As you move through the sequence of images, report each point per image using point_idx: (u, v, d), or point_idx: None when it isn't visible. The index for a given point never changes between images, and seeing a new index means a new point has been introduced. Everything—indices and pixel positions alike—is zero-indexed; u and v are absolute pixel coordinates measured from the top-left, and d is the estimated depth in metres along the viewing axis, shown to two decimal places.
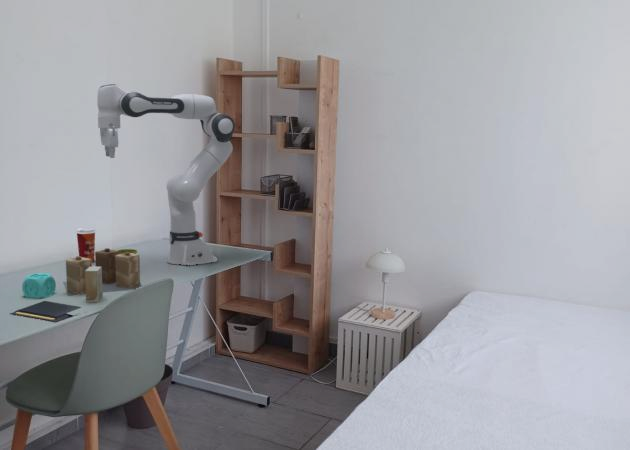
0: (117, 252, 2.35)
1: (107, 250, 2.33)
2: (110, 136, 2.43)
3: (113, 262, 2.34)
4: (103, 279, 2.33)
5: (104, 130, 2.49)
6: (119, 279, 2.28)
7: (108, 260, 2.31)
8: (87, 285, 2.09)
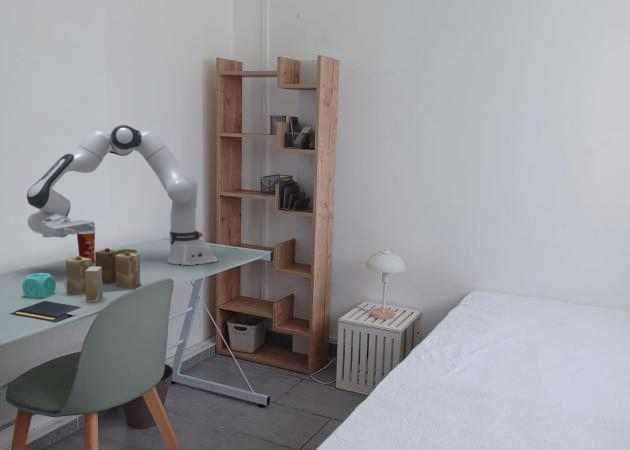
0: (117, 252, 2.35)
1: (107, 250, 2.33)
2: None
3: (113, 262, 2.34)
4: (103, 279, 2.33)
5: None
6: (119, 279, 2.28)
7: (108, 260, 2.31)
8: (87, 285, 2.09)
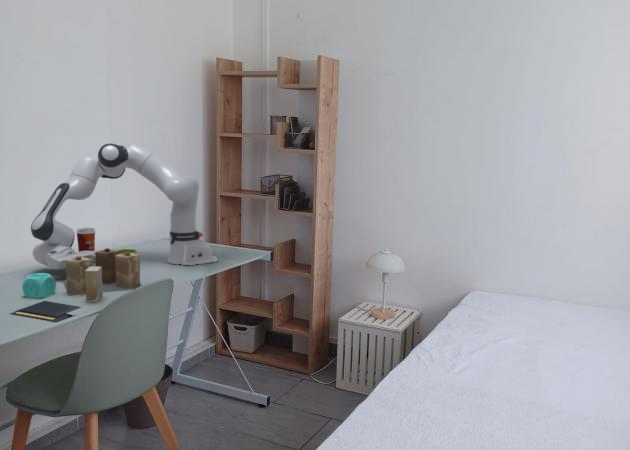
0: (117, 252, 2.35)
1: (107, 250, 2.33)
2: None
3: (113, 262, 2.34)
4: (103, 279, 2.33)
5: None
6: (119, 279, 2.28)
7: (108, 260, 2.31)
8: (87, 285, 2.09)
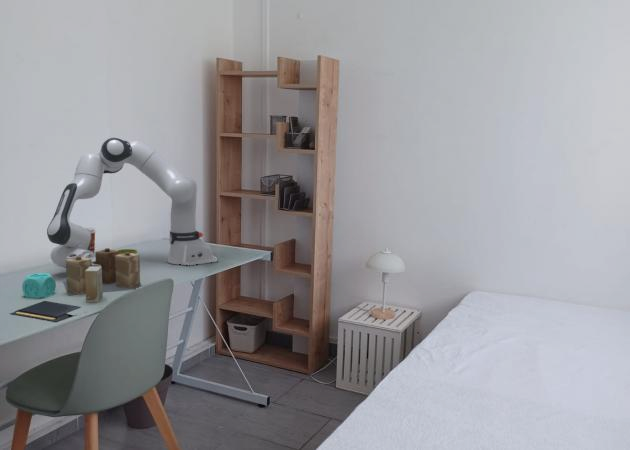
0: (117, 252, 2.35)
1: (107, 250, 2.33)
2: None
3: (113, 262, 2.34)
4: (103, 279, 2.33)
5: None
6: (119, 279, 2.28)
7: (108, 260, 2.31)
8: (87, 285, 2.09)
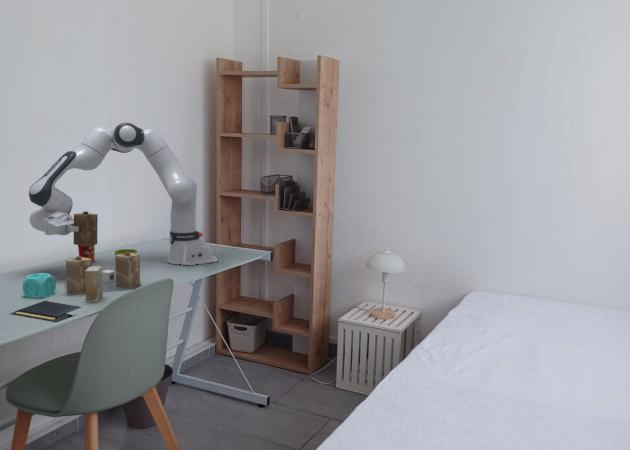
0: (95, 215, 2.37)
1: (85, 213, 2.36)
2: None
3: (91, 225, 2.36)
4: (80, 241, 2.35)
5: None
6: (119, 279, 2.28)
7: (86, 222, 2.33)
8: (87, 285, 2.09)
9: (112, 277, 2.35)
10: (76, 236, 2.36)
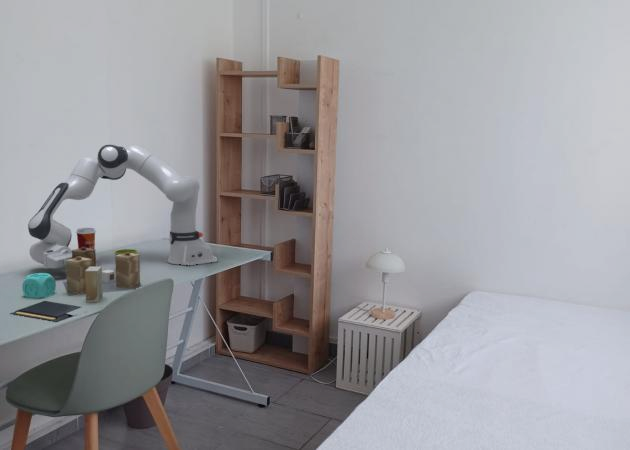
0: (93, 250, 2.41)
1: (83, 248, 2.39)
2: None
3: None
4: None
5: None
6: (119, 279, 2.28)
7: None
8: (87, 285, 2.09)
9: (112, 277, 2.35)
10: None
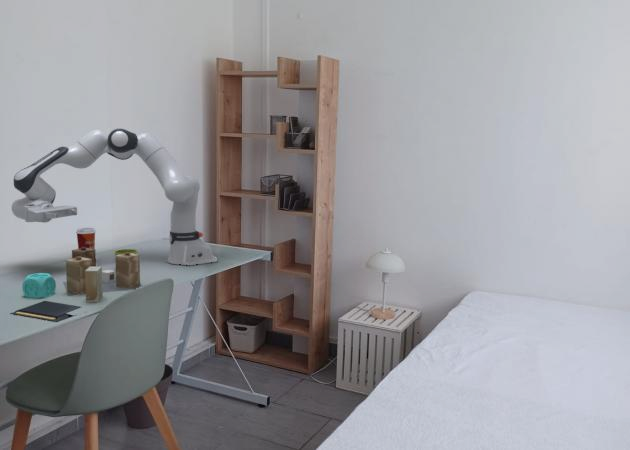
0: (93, 250, 2.41)
1: (83, 248, 2.39)
2: None
3: None
4: None
5: None
6: (119, 279, 2.28)
7: None
8: (87, 285, 2.09)
9: (112, 277, 2.35)
10: None
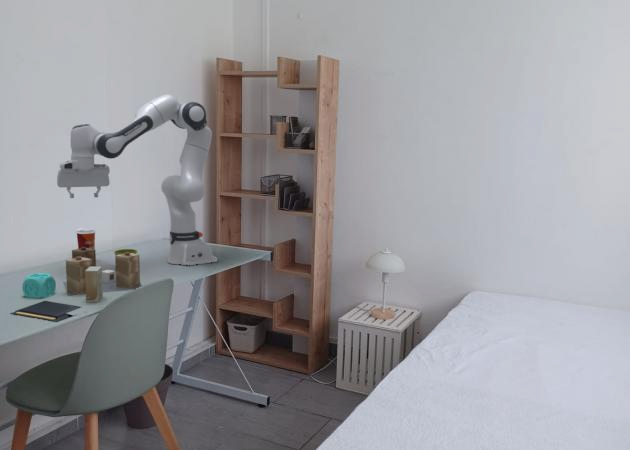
0: (93, 250, 2.41)
1: (83, 248, 2.39)
2: None
3: None
4: None
5: (89, 171, 2.47)
6: (119, 279, 2.28)
7: None
8: (87, 285, 2.09)
9: (112, 277, 2.35)
10: None
